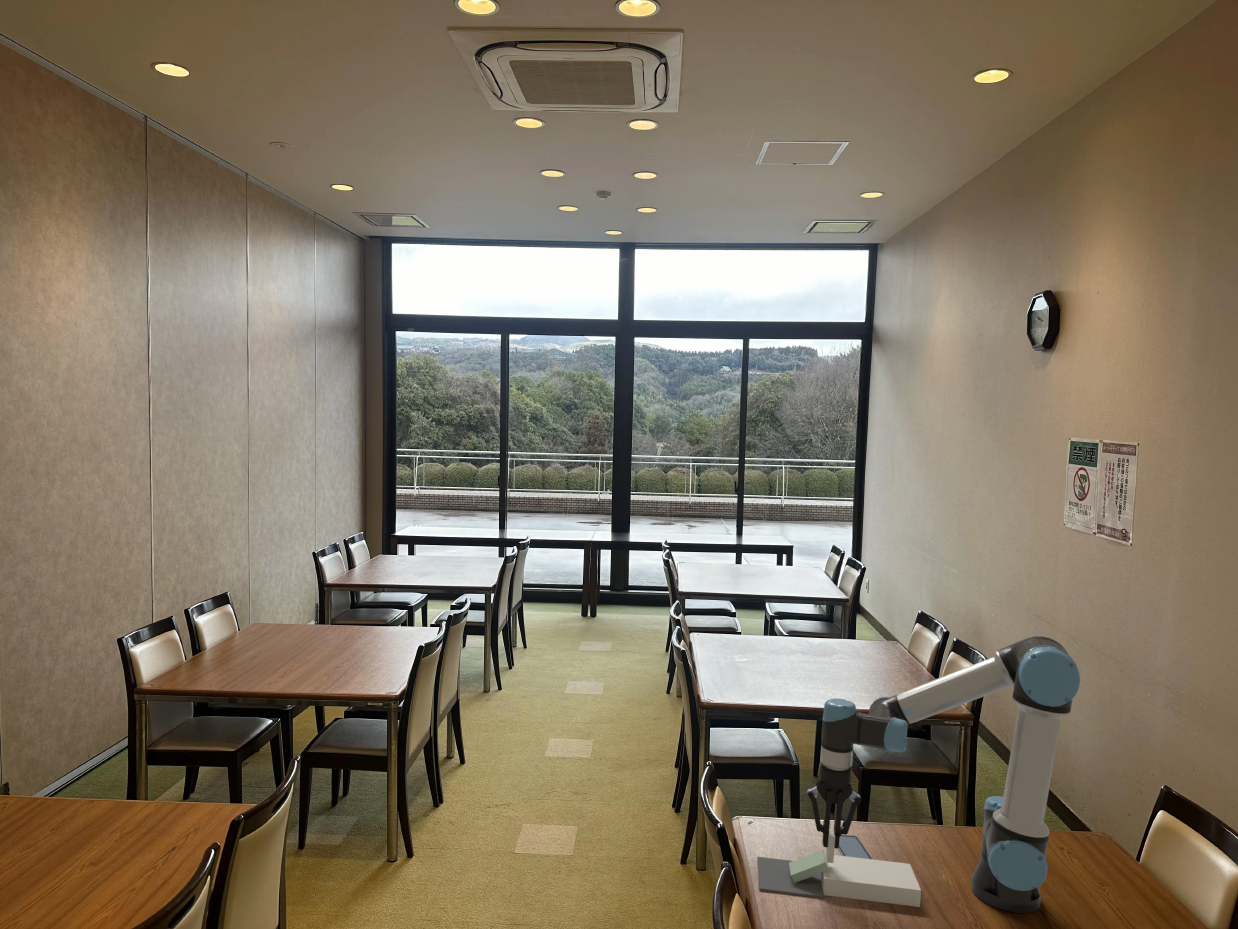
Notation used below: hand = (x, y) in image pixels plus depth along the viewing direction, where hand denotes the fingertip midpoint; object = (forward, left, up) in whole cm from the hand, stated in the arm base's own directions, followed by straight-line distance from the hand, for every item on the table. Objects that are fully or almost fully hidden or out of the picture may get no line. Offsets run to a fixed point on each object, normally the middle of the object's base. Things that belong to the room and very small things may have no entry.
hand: (829, 860), depth 198 cm
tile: (+4, 0, -3) cm, 5 cm away
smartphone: (-8, -18, -6) cm, 21 cm away
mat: (+9, 0, -6) cm, 11 cm away
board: (-9, 0, -6) cm, 11 cm away
